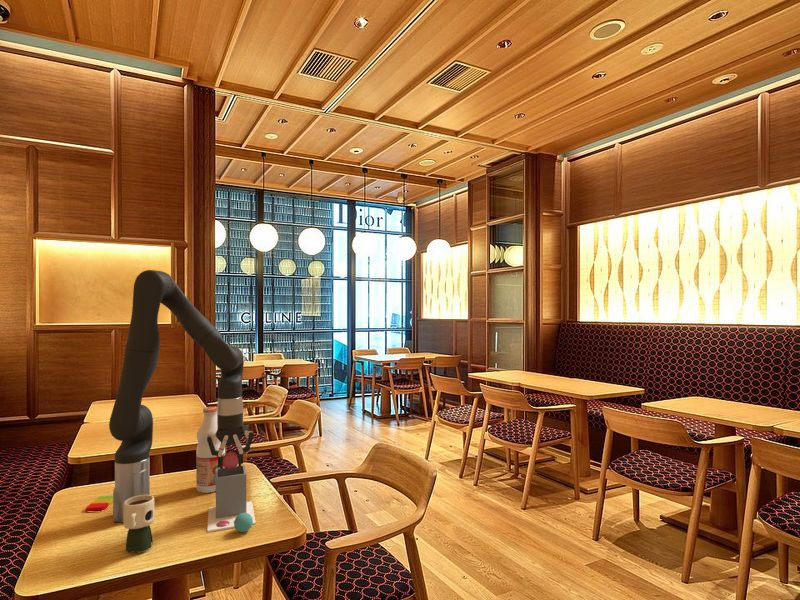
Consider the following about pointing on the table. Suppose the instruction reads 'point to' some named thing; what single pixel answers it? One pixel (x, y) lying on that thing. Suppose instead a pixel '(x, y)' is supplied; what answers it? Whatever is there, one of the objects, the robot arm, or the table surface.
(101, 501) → the popsicle
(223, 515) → the tube card
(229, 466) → the pink ball
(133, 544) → the character mug
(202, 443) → the strawberry milk bottle
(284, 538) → the table surface
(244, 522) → the teal ball
